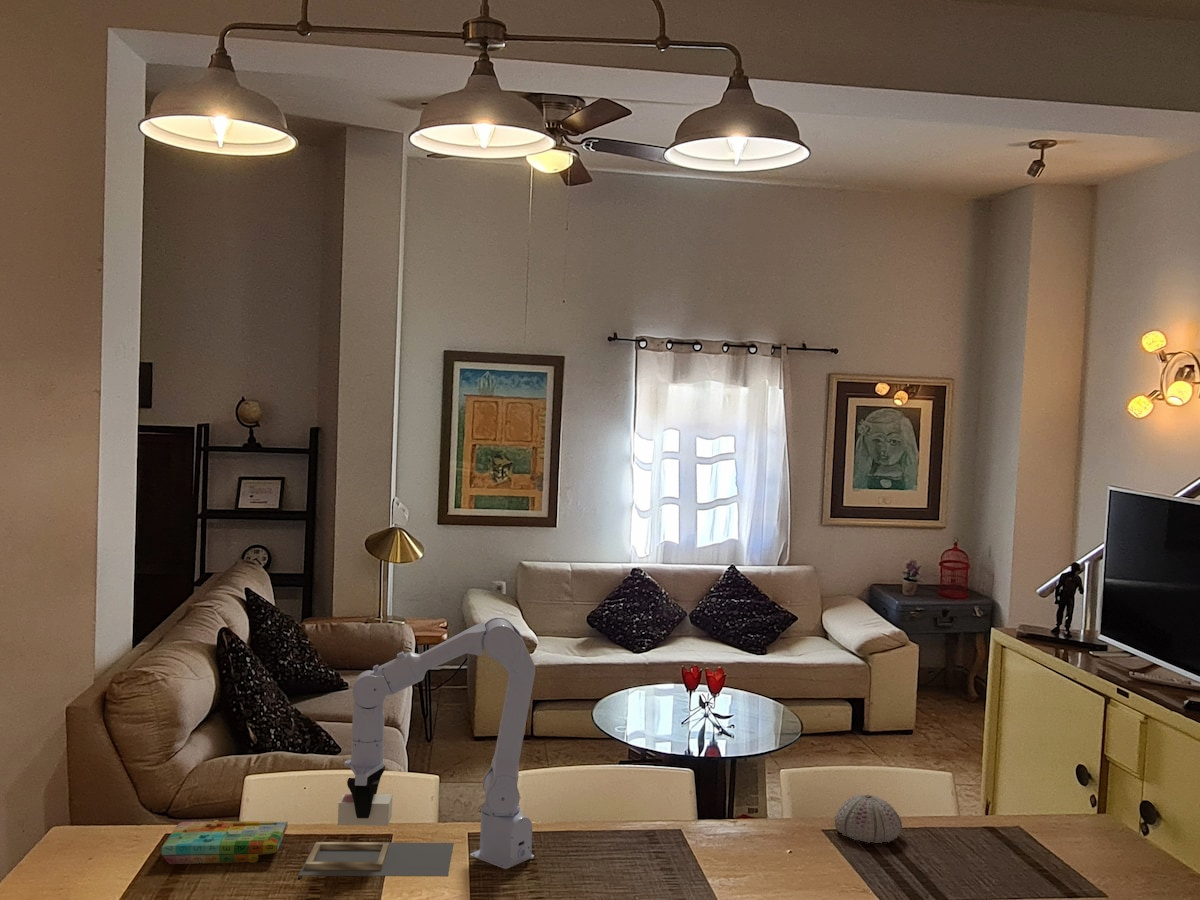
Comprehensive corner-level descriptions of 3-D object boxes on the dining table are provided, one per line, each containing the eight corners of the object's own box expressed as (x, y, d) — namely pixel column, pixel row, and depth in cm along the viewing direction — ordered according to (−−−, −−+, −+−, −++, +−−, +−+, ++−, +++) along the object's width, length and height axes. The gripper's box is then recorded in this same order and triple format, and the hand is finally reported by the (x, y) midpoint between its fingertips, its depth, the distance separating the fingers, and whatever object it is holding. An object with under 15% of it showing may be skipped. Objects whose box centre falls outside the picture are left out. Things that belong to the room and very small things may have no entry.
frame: (389, 847, 198) (389, 842, 198) (381, 869, 188) (381, 864, 188) (316, 847, 197) (316, 841, 197) (304, 869, 187) (305, 863, 187)
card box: (391, 815, 196) (392, 793, 196) (388, 825, 191) (388, 803, 191) (342, 815, 195) (343, 793, 195) (337, 825, 190) (338, 802, 190)
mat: (453, 845, 202) (453, 842, 202) (447, 878, 187) (447, 875, 187) (315, 844, 200) (315, 842, 200) (298, 878, 185) (298, 875, 185)
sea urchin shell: (875, 854, 205) (877, 813, 205) (819, 832, 215) (821, 793, 215) (914, 838, 213) (916, 799, 213) (859, 818, 224) (860, 781, 223)
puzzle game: (178, 818, 199) (287, 816, 202) (178, 843, 199) (287, 841, 202) (161, 842, 188) (277, 840, 190) (160, 868, 188) (276, 866, 190)
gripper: (352, 726, 200) (349, 797, 200) (338, 749, 185) (335, 826, 185) (389, 727, 200) (387, 798, 200) (379, 750, 186) (376, 827, 186)
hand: (365, 812), depth 193 cm, fingers closed on card box, 5 cm apart
